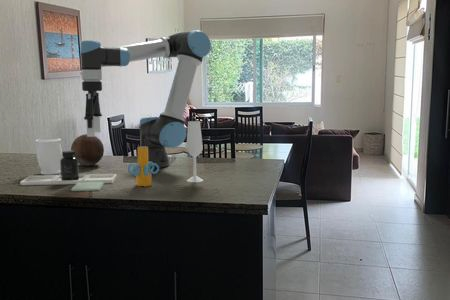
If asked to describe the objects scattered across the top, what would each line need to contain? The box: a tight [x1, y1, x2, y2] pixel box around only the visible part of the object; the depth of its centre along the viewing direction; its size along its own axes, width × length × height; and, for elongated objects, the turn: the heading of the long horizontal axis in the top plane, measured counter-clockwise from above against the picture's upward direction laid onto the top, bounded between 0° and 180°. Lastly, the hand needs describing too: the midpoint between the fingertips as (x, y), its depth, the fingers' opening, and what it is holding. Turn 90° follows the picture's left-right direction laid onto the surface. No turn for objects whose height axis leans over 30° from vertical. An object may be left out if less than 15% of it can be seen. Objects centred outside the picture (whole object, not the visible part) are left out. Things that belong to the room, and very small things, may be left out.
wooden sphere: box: [70, 133, 105, 167], centre depth 219 cm, size 15×15×15 cm
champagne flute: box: [185, 120, 204, 183], centre depth 186 cm, size 7×7×24 cm
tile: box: [70, 182, 105, 192], centre depth 176 cm, size 10×10×1 cm
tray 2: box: [83, 173, 118, 184], centre depth 188 cm, size 11×11×1 cm
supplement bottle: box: [60, 150, 80, 181], centre depth 186 cm, size 7×7×12 cm
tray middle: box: [51, 174, 88, 186], centre depth 187 cm, size 11×11×1 cm
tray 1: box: [19, 174, 59, 186], centre depth 186 cm, size 11×11×1 cm
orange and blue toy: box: [127, 145, 160, 187], centre depth 179 cm, size 12×10×15 cm
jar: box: [35, 137, 63, 175], centre depth 202 cm, size 11×10×15 cm
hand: (94, 134), depth 185 cm, fingers open, 13 cm apart
